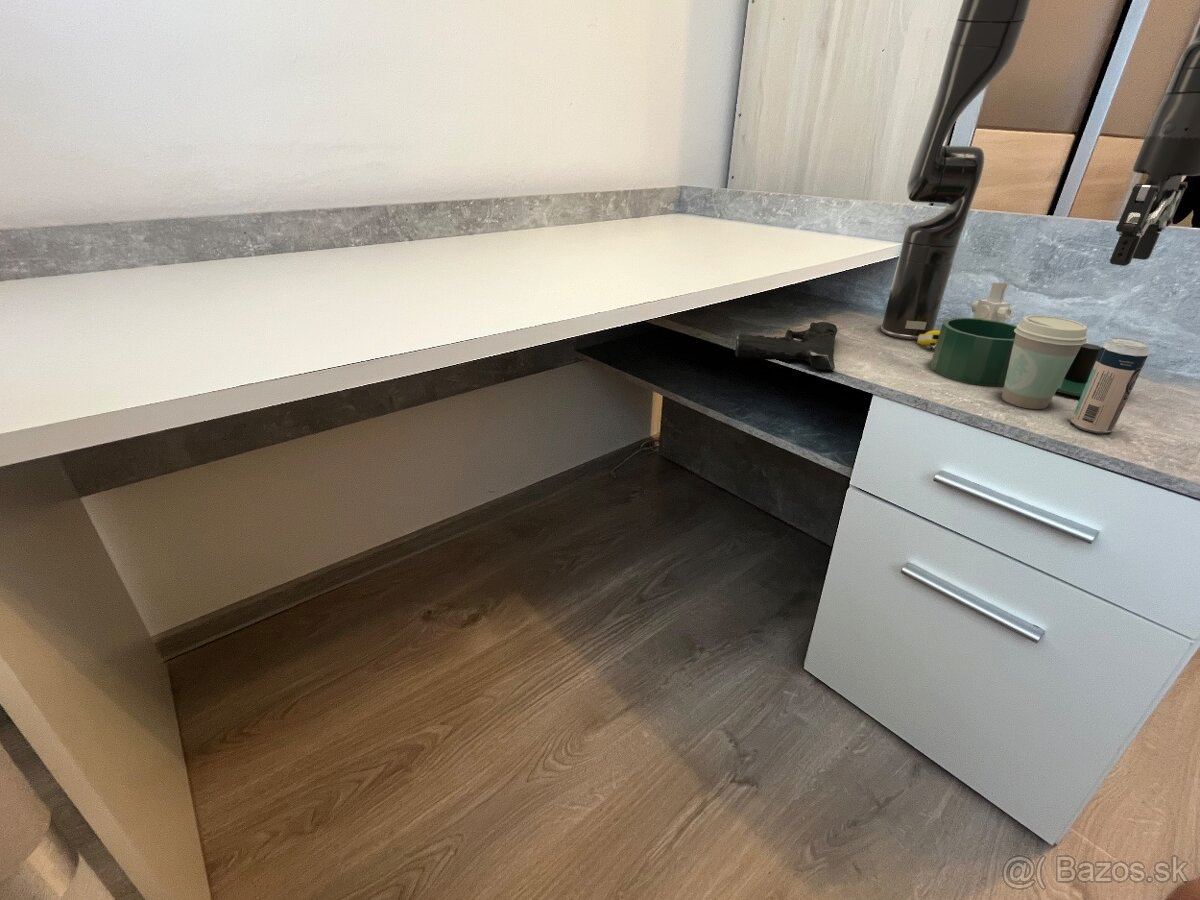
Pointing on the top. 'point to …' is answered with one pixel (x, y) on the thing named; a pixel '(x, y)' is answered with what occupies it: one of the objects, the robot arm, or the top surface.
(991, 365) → the pot
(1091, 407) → the beer can
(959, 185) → the robot arm
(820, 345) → the handgun
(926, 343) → the yellow curved piece
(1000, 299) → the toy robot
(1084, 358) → the lid
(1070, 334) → the coffee cup
